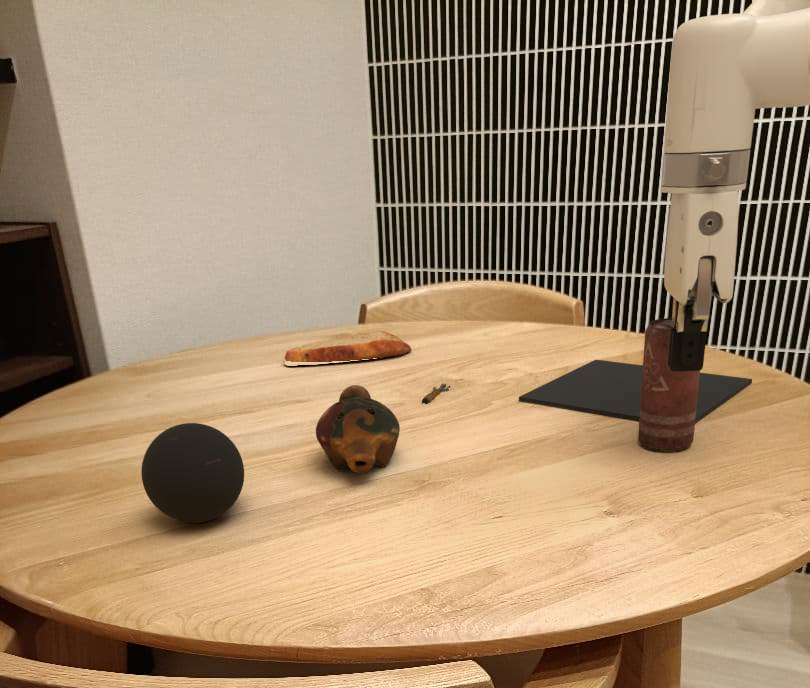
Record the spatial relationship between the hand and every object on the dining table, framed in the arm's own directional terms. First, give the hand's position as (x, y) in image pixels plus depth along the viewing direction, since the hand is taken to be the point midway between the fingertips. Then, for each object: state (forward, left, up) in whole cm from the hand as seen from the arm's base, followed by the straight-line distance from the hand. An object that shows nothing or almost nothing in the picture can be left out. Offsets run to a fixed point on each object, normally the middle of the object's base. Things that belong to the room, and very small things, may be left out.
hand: (684, 368), depth 84 cm
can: (+4, -6, -11) cm, 13 cm away
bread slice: (+67, -19, -11) cm, 70 cm away
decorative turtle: (+31, +17, -11) cm, 37 cm away
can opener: (+40, -9, -11) cm, 42 cm away
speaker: (+35, +37, -11) cm, 52 cm away
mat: (+16, -23, -11) cm, 30 cm away
